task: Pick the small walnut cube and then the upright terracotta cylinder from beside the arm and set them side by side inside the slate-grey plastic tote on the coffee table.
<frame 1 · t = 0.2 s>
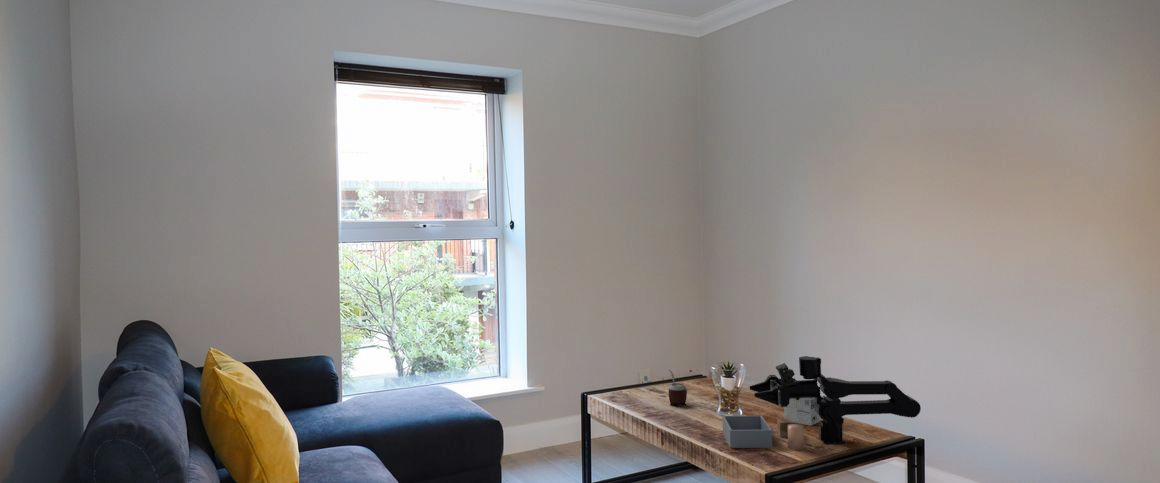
hand: (751, 391, 248), 16 cm above the table, tool horizontal, fingers open, 9 cm apart
mate gourd: (677, 405, 296), on the table
tote: (746, 439, 250), on the table
walnut cube: (786, 435, 255), on the table
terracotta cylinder: (796, 447, 241), on the table
light bulb box: (801, 422, 270), on the table
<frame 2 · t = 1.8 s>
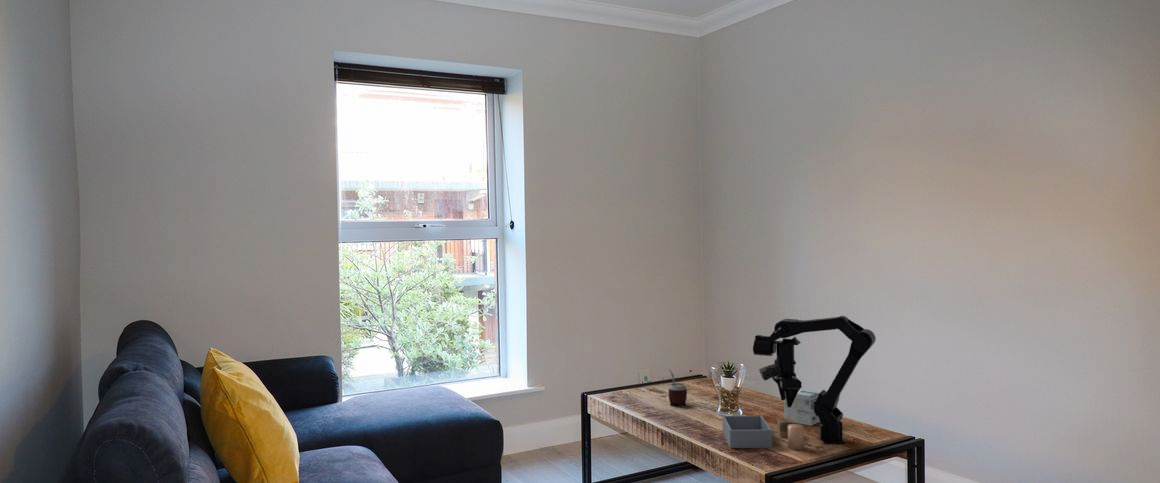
hand: (786, 403, 254), 11 cm above the table, tool pointing down, fingers open, 9 cm apart
nothing on the table moved.
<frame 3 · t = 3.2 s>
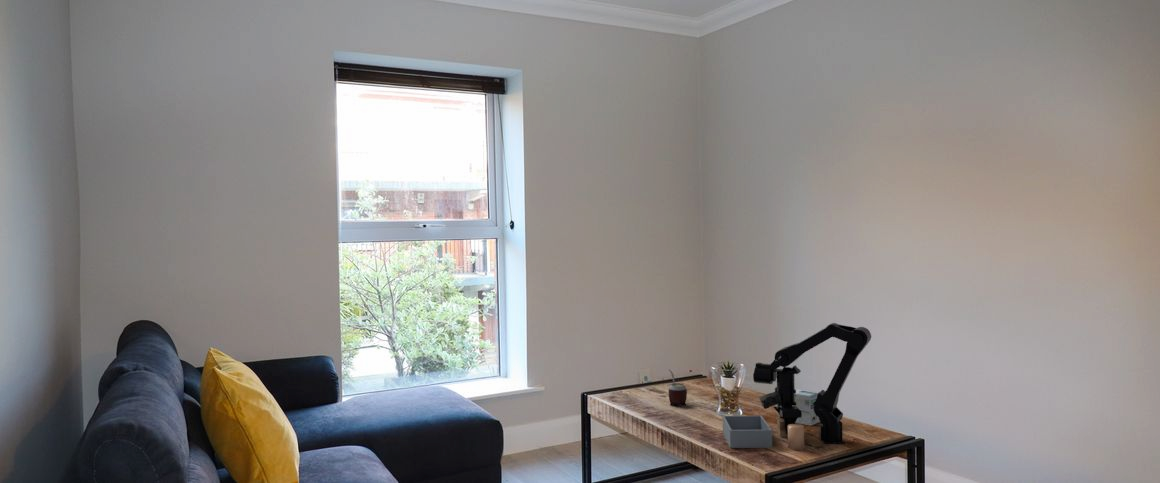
hand: (786, 431, 254), 1 cm above the table, tool pointing down, fingers closed on walnut cube, 5 cm apart
walnut cube: (786, 434, 255), on the table, touching gripper
everything else where it was.
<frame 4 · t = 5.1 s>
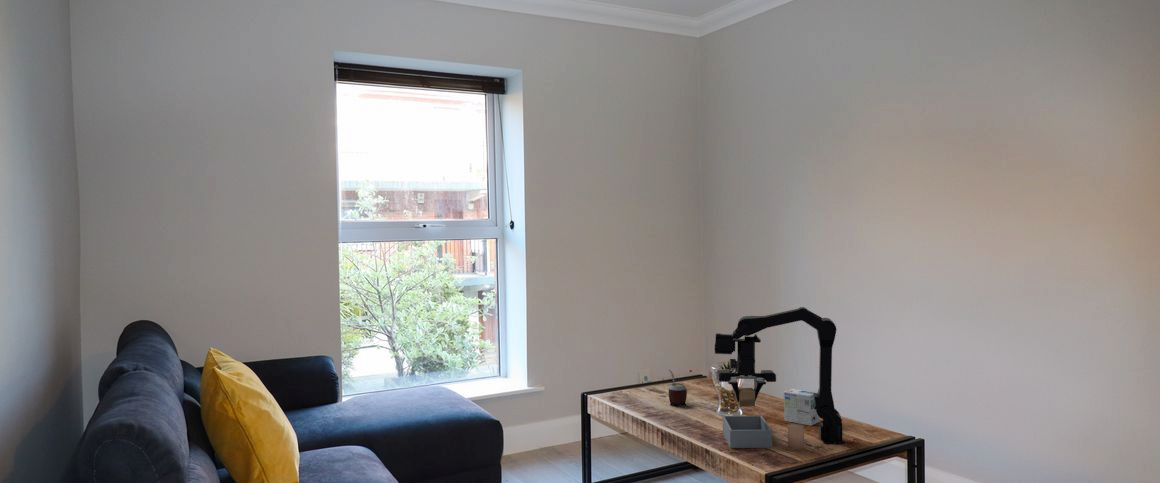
hand: (745, 401, 253), 12 cm above the table, tool pointing down, fingers closed on walnut cube, 5 cm apart
walnut cube: (745, 404, 253), point 11 cm above the table, touching gripper
everything else where it was.
when the fingers open (4 cm above the table, at t = 6.9 s): walnut cube drops 2 cm, resting on tote.
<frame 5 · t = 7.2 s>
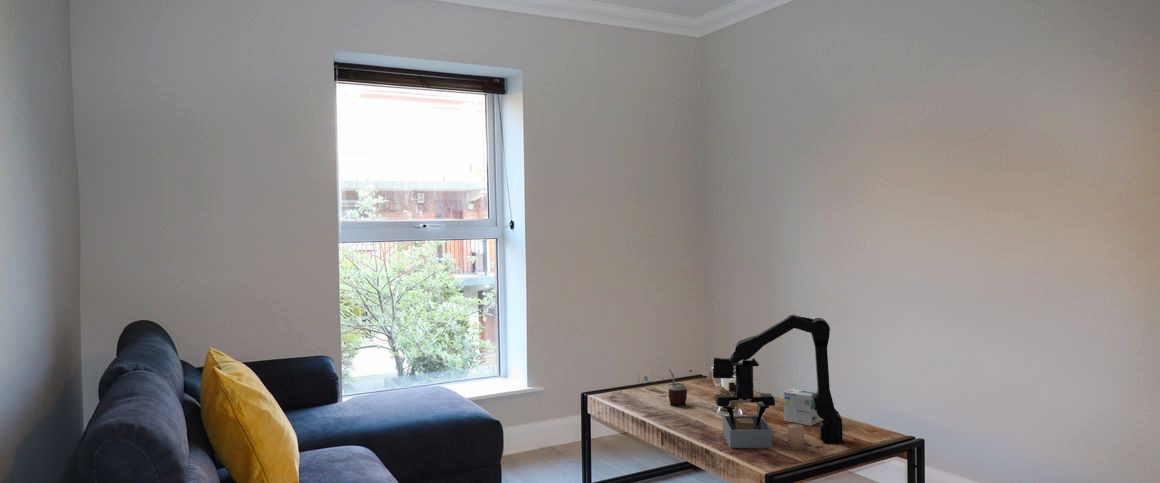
hand: (745, 425, 253), 4 cm above the table, tool pointing down, fingers open, 8 cm apart
walnut cube: (745, 435, 253), point 1 cm above the table, touching tote
everything else where it was.
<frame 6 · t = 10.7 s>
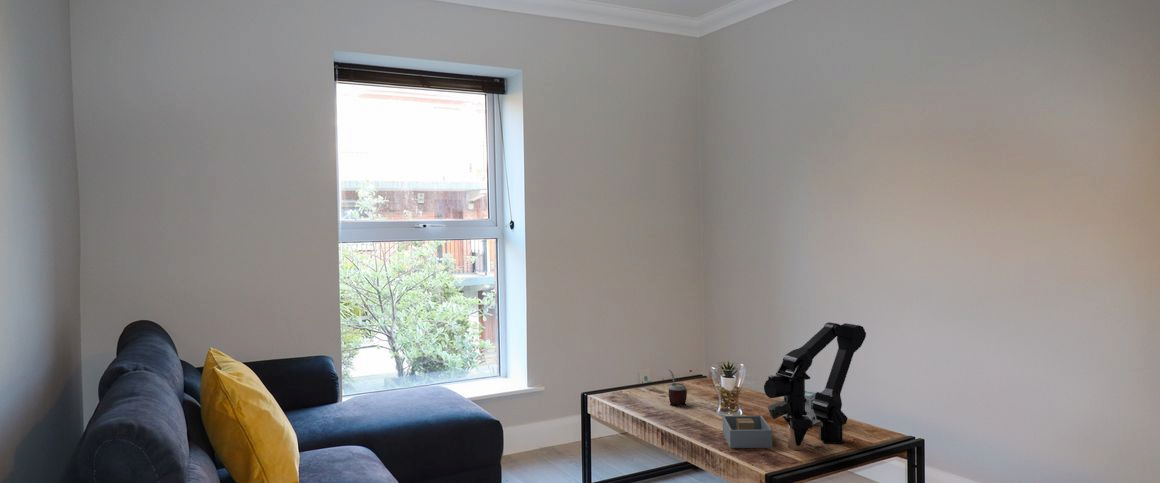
hand: (796, 443, 240), 2 cm above the table, tool pointing down, fingers closed on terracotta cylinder, 5 cm apart
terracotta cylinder: (796, 447, 241), on the table, touching gripper
everything else where it was.
when the fingers open (4 cm above the table, at t = 14.5 s): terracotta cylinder drops 2 cm, resting on tote.
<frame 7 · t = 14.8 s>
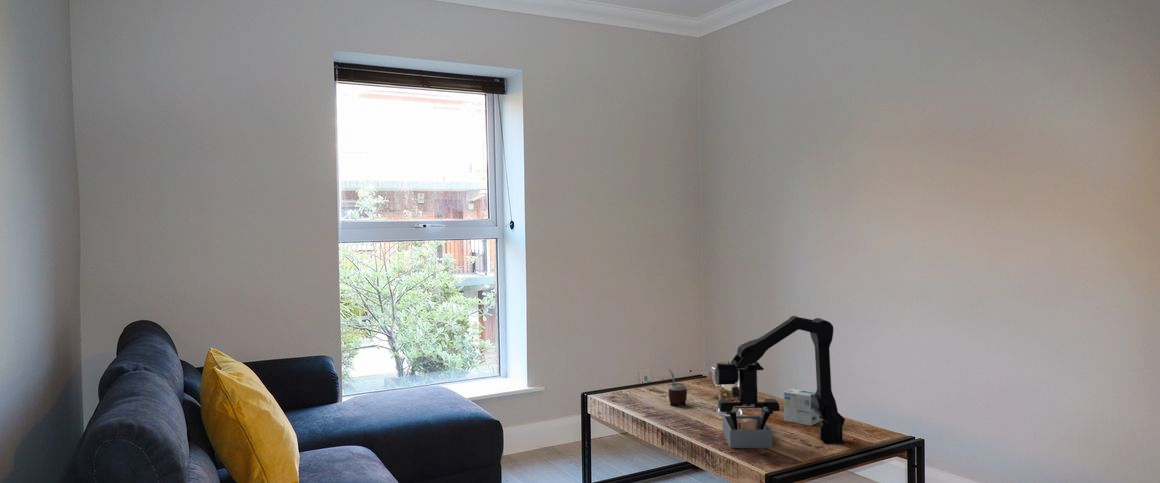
hand: (748, 431, 246), 4 cm above the table, tool pointing down, fingers open, 8 cm apart
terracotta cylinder: (749, 441, 246), point 1 cm above the table, touching tote
everything else where it was.
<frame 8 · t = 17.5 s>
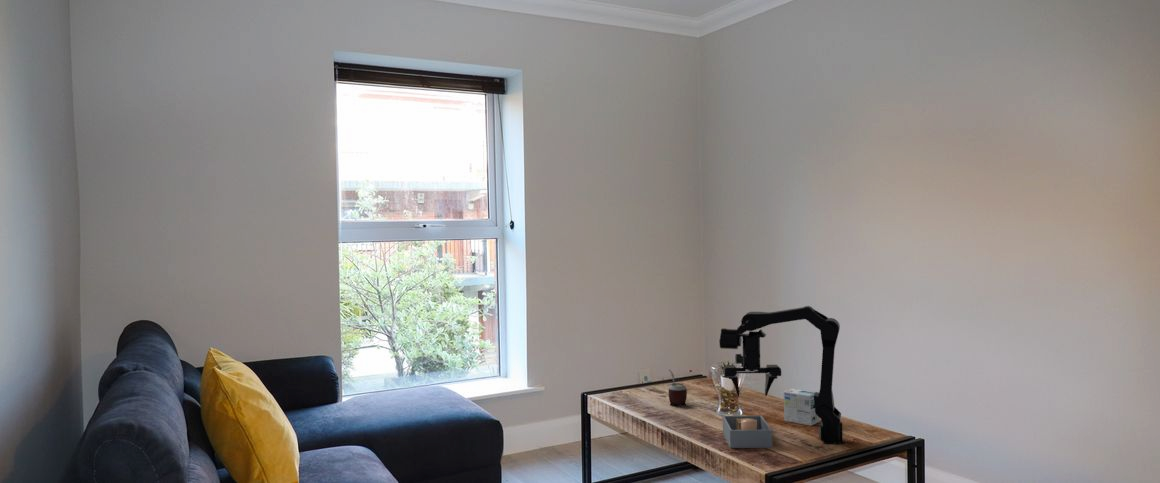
hand: (751, 395, 256), 13 cm above the table, tool pointing down, fingers open, 9 cm apart
nothing on the table moved.
at the end: walnut cube inside the target area on the tote (2.6 cm from its centre), point 0.6 cm above the tote's base; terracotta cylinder inside the target area on the tote (4.5 cm from its centre), point 0.6 cm above the tote's base; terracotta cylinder tilted 0° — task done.
